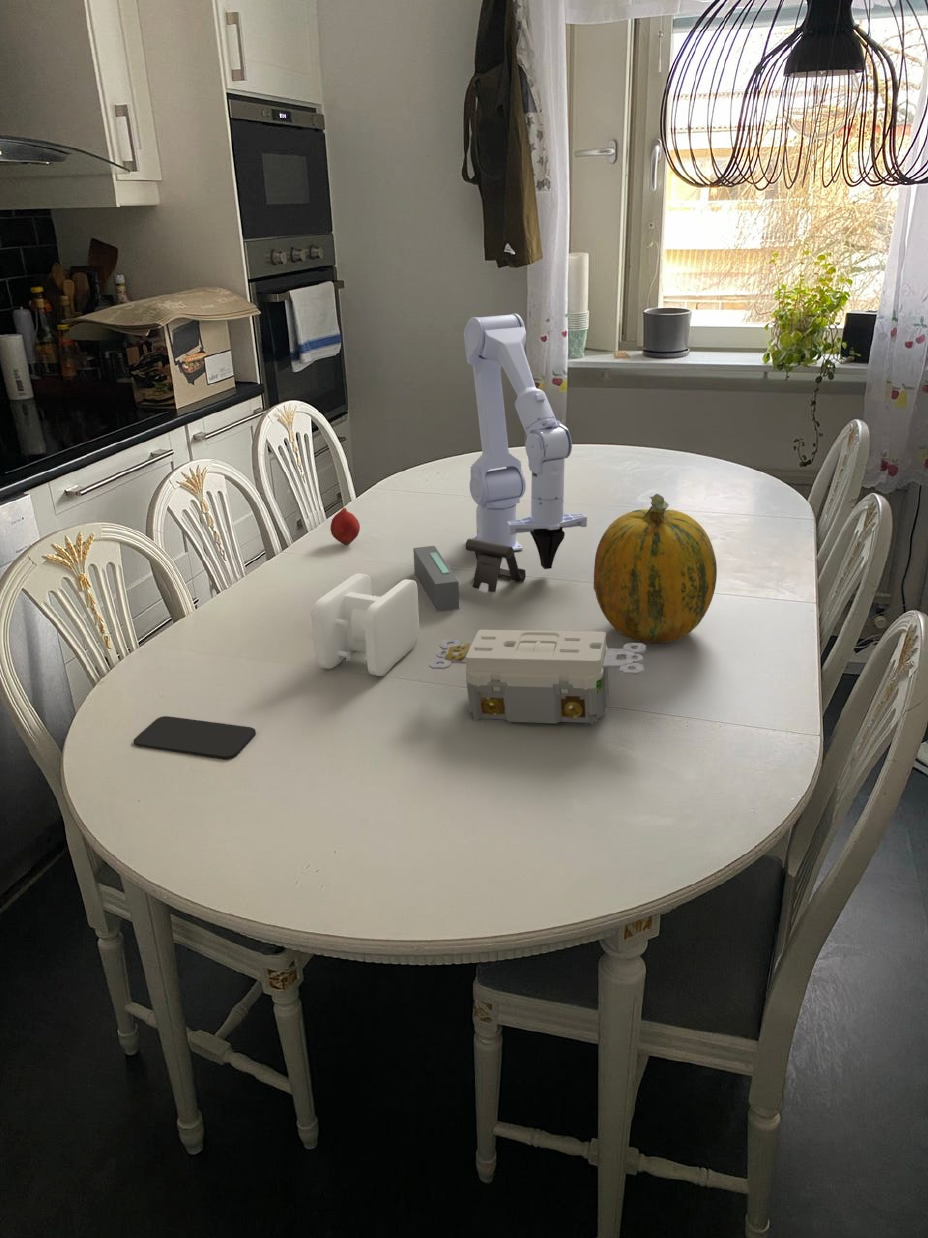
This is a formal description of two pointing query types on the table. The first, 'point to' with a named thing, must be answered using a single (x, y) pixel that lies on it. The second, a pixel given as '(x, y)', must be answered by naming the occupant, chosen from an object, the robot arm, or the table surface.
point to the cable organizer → (365, 624)
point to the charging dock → (436, 578)
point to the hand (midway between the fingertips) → (546, 566)
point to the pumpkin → (655, 573)
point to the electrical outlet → (538, 673)
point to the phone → (195, 737)
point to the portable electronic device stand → (493, 563)
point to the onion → (345, 527)
